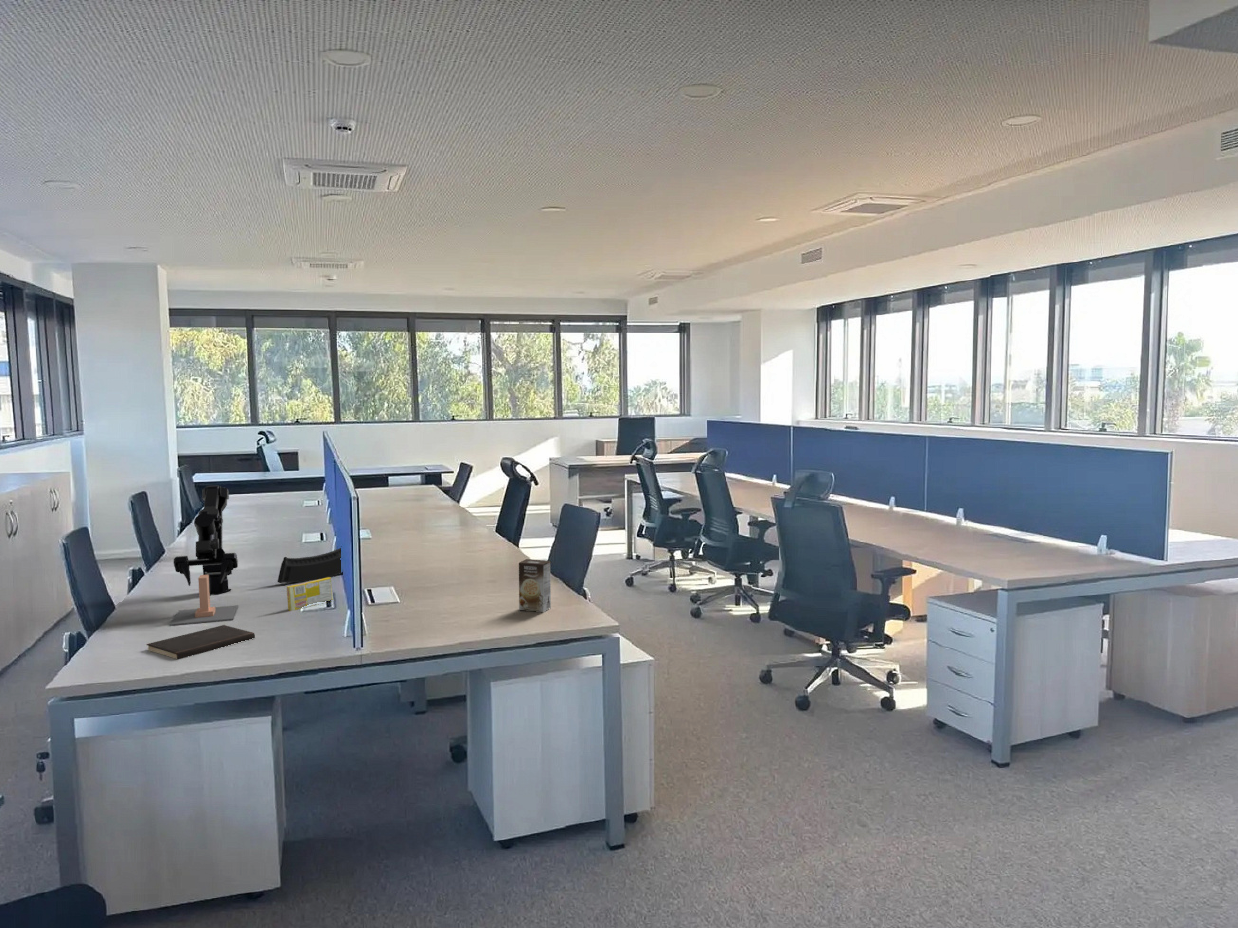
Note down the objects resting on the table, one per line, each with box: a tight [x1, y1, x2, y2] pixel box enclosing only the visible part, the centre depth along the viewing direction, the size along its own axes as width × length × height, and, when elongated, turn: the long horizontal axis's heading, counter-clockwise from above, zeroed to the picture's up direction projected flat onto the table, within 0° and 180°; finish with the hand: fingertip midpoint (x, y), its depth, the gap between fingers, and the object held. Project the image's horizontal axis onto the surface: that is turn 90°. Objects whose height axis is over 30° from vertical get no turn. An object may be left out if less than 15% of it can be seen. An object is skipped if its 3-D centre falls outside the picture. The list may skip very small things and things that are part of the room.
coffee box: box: [518, 558, 552, 613], centre depth 275 cm, size 9×6×16 cm
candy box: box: [286, 577, 334, 612], centre depth 284 cm, size 16×2×8 cm, turn 144°
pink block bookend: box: [195, 574, 216, 618], centre depth 272 cm, size 6×5×12 cm
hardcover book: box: [146, 624, 256, 661], centre depth 242 cm, size 16×23×2 cm
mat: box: [169, 604, 239, 627], centre depth 273 cm, size 18×18×1 cm
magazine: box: [277, 547, 342, 584], centre depth 325 cm, size 17×3×30 cm
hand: (204, 583), depth 274 cm, fingers open, 9 cm apart
